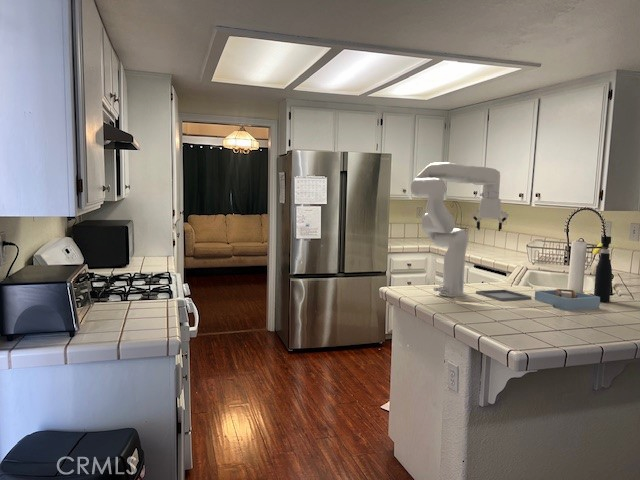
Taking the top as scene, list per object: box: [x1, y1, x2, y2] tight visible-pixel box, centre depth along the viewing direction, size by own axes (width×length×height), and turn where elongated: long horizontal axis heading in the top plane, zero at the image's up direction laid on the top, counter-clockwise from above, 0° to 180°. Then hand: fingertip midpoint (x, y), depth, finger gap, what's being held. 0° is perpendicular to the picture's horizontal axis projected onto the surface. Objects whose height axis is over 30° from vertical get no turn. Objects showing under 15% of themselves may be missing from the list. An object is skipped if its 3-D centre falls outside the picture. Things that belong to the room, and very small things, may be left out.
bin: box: [534, 289, 601, 312], centre depth 212 cm, size 18×18×5 cm
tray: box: [475, 289, 532, 302], centre depth 223 cm, size 17×17×2 cm
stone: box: [560, 291, 572, 299], centre depth 212 cm, size 4×4×4 cm
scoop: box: [555, 288, 577, 298], centre depth 212 cm, size 7×12×5 cm, turn 159°
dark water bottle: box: [593, 235, 613, 303], centre depth 222 cm, size 6×6×30 cm
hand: (488, 230), depth 239 cm, fingers open, 9 cm apart
